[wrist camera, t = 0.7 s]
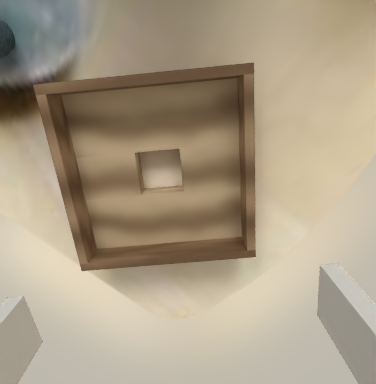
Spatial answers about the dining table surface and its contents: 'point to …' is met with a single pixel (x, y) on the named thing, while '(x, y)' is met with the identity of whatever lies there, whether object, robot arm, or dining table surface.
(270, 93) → the dining table surface
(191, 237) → the box
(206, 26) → the dining table surface
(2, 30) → the peg
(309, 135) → the dining table surface
